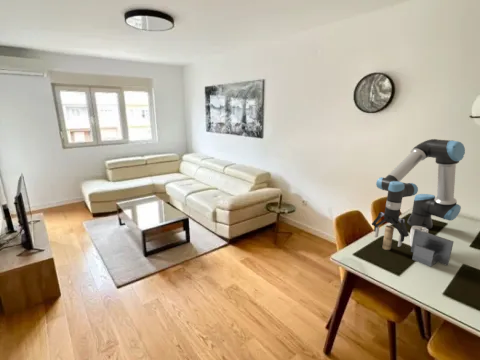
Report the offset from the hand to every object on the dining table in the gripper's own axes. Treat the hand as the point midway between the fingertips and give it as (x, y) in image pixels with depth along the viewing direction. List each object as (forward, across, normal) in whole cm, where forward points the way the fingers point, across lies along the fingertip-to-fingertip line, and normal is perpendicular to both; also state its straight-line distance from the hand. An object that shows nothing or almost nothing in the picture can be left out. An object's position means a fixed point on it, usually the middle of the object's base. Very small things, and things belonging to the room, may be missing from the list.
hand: (387, 241), depth 156 cm
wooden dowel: (+5, 0, 0) cm, 5 cm away
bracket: (+5, +19, +4) cm, 20 cm away
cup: (+5, +9, +18) cm, 21 cm away
